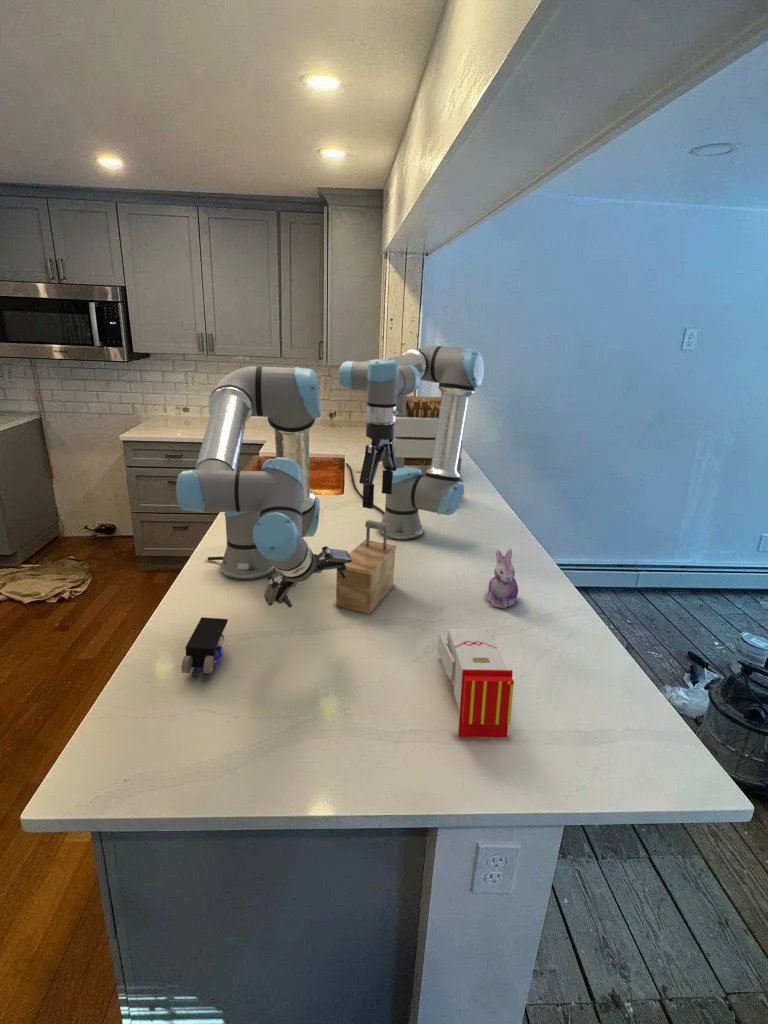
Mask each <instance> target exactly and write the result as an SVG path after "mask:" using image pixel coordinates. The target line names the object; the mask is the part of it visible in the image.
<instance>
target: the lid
mask: <svg viewBox="0 0 768 1024" xmlns="http://www.w3.org/2000/svg"><path fill="white" fill-rule="evenodd" d="M365 528H366V535H365V536H366V539H364V540H363V541H362V542H361V543H360V544H358V545H356V547H355V548H354V549H353V550H351V551H350V552H348V554H349V555H350V557H351V559H352V561H351V562H350V563H345V566H346V567H347V569H346V570H350V571H355V572H359V573H364V574H369V575H371V574H372V573H373V572H374V571H375V570H376V569H377V568H378V567H379V566H380V565H381V564H382V563H383V562H384V561H385V560H386V559H387V558H388V557H389V556H390V555H391V554H392V553H393V552H394V551H395V552H396V550H397V545H394V544H390V543H387V539H388V538H387V530H388V528H389V524H387V523H382V521H377V520H370V519H367V520H366V521H365ZM371 529H373V530H378V531H379V530H383V531H384V536H383V542H379V541H373V540H371V539H370V537H371Z"/></svg>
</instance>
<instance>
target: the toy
mask: <svg viewBox="0 0 768 1024" xmlns="http://www.w3.org/2000/svg"><path fill="white" fill-rule="evenodd" d="M446 640H447V643H446V641H445V639H444V636H443V635H442V634H439V637H438V646H437V656H438V657H439V659H440V661H441V663H442V666H443V668H444V670H445V672H446V674H447V677H448V679H449V681H450V684H451V687H452V690H453V693H454V697H455V701H456V705H457V708H458V711H459V714H458V715H459V716H458V730H457V731H458V732H457V737H458V738H508V731H509V726H510V725H511V717H512V707H513V697H514V696H513V695H514V684H515V680H514V679H513V673H514V671H513V670H512V669H508V667H507V665H506V662H505V661H504V659H503V658H502V655H501V653H500V651H499V649H498V647H497V643H496V639H495V637H494V635H493V634H491V632H490V631H489V629H467V628H466V629H465V628H463V629H461V628H460V629H459V628H448V630H447V639H446Z"/></svg>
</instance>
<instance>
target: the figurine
mask: <svg viewBox="0 0 768 1024" xmlns="http://www.w3.org/2000/svg"><path fill="white" fill-rule="evenodd" d="M495 555H496V566H495V567H494V573H493V574H494V576H493V577H492V578H491V579H490V580H489V582H488V591H487V600H488V601H489V603H490V605H491V606H492V607H495V608H500V609H506V608H507V607H511V606H513V605H514V604H515V603H516V601H517V597H518V595H519V585H518V583H517V579H515V575H516V571H515V567H514V565H513V564H512V558H513V557H512V556H513V550H512V548H509V549H508V550H507V551H506V553H505V555H504V556H503V554H502V551H500V550H499V549H497V550H496V551H495Z"/></svg>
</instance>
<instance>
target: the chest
mask: <svg viewBox="0 0 768 1024" xmlns="http://www.w3.org/2000/svg"><path fill="white" fill-rule="evenodd" d="M395 558H396V550H395V551H394V552H393V553H392V554H391V555H390V556H389V557H388V558H387V559H386V560H385V561H384V562H383V563H382V564H381V565H380V566H379V567H378V568H377V569H376V570H375V571H374V572H373V573H372V574H371V575H369V574H364V573H359V572H355V571H350V570H344V571H343V573H344V575H345V577H346V578H344V579H343V578H342V576H341V575H340V573H339V571H338V569H336V592H335V593H336V594H335V606H336V607H339V608H343V609H346V610H347V609H348V610H352V611H355V612H360V613H364V614H368V615H370V614H371V613H372V611H374V609H375V608H376V607H377V606H378V605H379V603H381V601H382V600H383V598H384V597H385V596H386V595H387V594H388V593H389V592H390V590H391V589H392V588H393V587H394V578H395V577H394V576H395V560H396V559H395Z"/></svg>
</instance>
